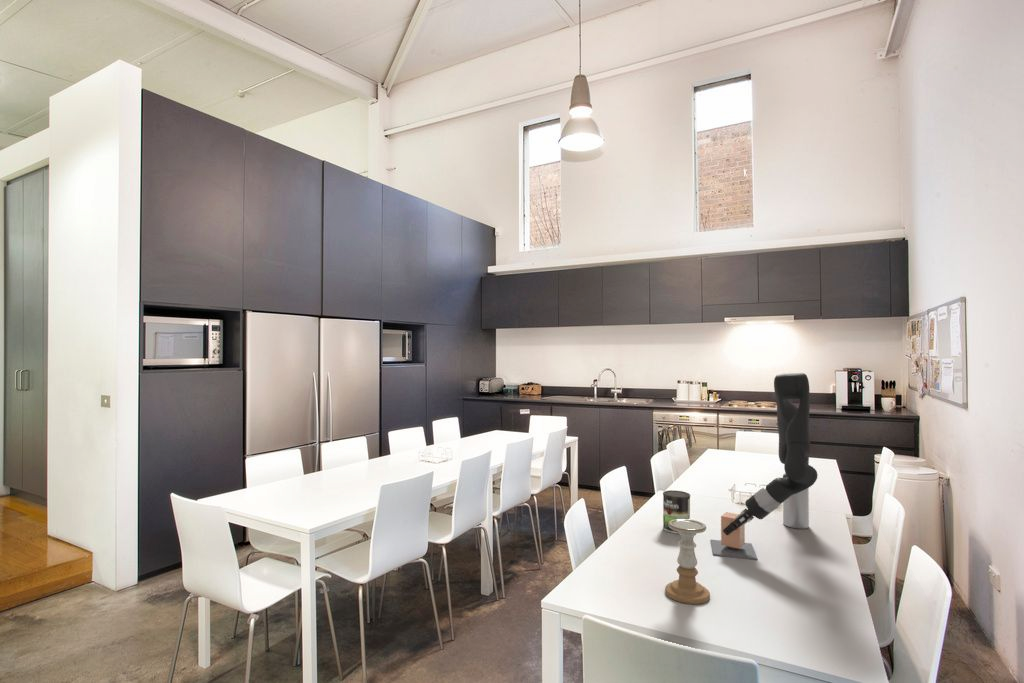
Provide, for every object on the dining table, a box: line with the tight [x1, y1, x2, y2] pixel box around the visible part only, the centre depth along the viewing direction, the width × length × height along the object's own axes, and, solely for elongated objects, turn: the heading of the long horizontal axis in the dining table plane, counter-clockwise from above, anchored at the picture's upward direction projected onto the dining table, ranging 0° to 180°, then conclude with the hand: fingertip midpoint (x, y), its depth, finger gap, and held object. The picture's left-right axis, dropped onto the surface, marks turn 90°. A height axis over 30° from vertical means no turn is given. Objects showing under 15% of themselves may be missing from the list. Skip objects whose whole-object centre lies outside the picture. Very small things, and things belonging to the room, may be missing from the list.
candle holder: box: [664, 519, 711, 605], centre depth 155 cm, size 12×12×20 cm
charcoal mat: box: [710, 539, 759, 561], centre depth 190 cm, size 15×14×1 cm
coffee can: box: [662, 489, 691, 535], centre depth 212 cm, size 10×10×14 cm
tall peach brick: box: [720, 512, 746, 549], centre depth 191 cm, size 6×6×10 cm
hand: (727, 530), depth 192 cm, fingers closed on tall peach brick, 6 cm apart
